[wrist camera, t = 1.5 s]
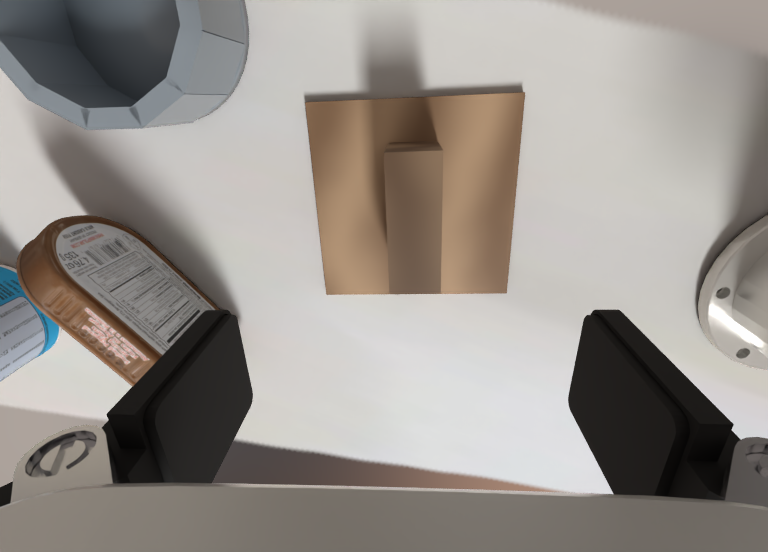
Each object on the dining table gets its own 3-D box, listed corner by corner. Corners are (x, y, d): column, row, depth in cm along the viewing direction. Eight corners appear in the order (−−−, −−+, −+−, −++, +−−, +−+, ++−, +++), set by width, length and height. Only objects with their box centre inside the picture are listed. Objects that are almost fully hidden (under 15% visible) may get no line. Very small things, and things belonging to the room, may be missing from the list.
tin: (86, 221, 29) (-32, 266, 21) (111, 194, 28) (-4, 231, 20) (239, 360, 33) (186, 439, 25) (265, 340, 32) (219, 417, 24)
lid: (520, 92, 24) (552, 90, 19) (503, 287, 29) (524, 330, 24) (309, 102, 25) (279, 103, 20) (329, 288, 30) (310, 330, 25)
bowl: (229, -109, 21) (163, -183, 15) (262, 119, 25) (220, 125, 20) (31, -94, 21) (-100, -160, 16) (97, 124, 26) (12, 132, 20)
